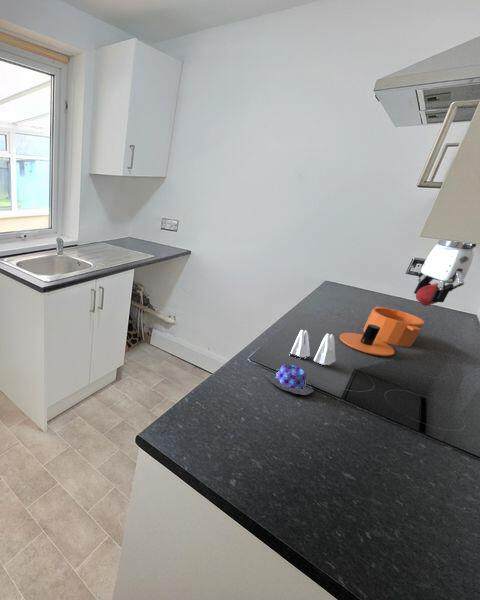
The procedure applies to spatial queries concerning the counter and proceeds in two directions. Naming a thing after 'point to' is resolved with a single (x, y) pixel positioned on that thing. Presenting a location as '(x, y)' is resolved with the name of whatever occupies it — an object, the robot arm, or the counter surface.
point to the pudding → (291, 376)
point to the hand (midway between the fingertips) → (428, 297)
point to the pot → (395, 326)
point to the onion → (426, 294)
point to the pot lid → (367, 342)
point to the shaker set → (324, 352)
